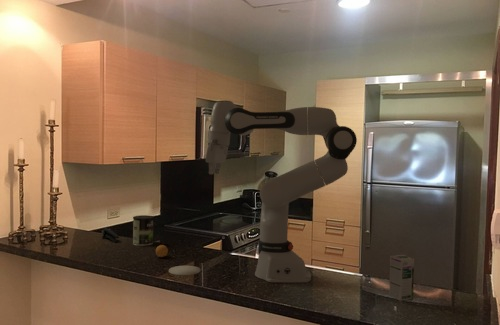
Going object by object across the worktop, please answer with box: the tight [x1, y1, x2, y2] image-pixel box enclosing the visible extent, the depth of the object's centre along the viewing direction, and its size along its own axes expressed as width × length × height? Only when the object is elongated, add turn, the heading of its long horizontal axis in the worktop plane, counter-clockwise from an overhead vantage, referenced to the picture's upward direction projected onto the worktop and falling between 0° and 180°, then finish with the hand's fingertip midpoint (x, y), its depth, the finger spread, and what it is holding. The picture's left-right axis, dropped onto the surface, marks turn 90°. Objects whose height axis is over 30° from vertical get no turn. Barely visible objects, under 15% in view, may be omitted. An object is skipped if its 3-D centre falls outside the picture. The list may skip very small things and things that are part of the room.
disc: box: [168, 265, 201, 276], centre depth 167 cm, size 13×13×1 cm
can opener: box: [101, 227, 120, 244], centre depth 218 cm, size 18×7×6 cm, turn 38°
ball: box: [155, 244, 169, 258], centre depth 186 cm, size 6×6×6 cm
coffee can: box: [132, 214, 155, 247], centre depth 211 cm, size 10×10×14 cm
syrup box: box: [388, 254, 415, 302], centre depth 142 cm, size 6×6×14 cm
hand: (214, 173), depth 165 cm, fingers open, 8 cm apart
